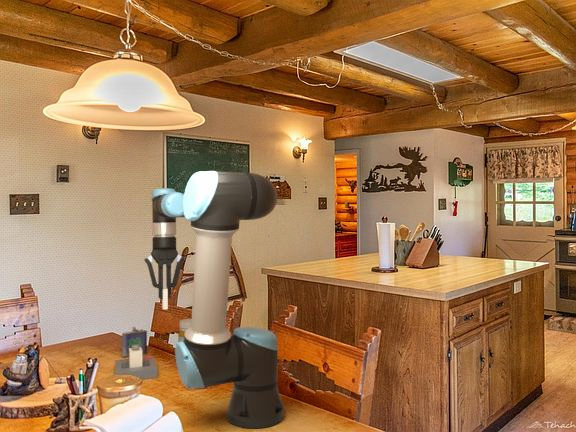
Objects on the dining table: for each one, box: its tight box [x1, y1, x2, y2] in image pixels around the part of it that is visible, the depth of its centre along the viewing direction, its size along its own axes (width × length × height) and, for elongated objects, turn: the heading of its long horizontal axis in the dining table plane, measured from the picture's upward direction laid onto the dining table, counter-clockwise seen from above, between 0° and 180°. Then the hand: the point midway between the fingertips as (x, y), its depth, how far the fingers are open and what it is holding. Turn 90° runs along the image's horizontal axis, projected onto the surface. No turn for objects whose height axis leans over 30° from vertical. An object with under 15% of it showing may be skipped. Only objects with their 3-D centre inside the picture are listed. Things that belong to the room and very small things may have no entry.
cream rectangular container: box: [128, 344, 143, 368], centre depth 167 cm, size 5×4×10 cm
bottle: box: [177, 318, 192, 343], centre depth 179 cm, size 7×7×15 cm
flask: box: [121, 326, 148, 359], centre depth 188 cm, size 9×3×11 cm, turn 122°
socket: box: [114, 354, 158, 380], centre depth 167 cm, size 14×13×4 cm
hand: (164, 308), depth 161 cm, fingers closed
